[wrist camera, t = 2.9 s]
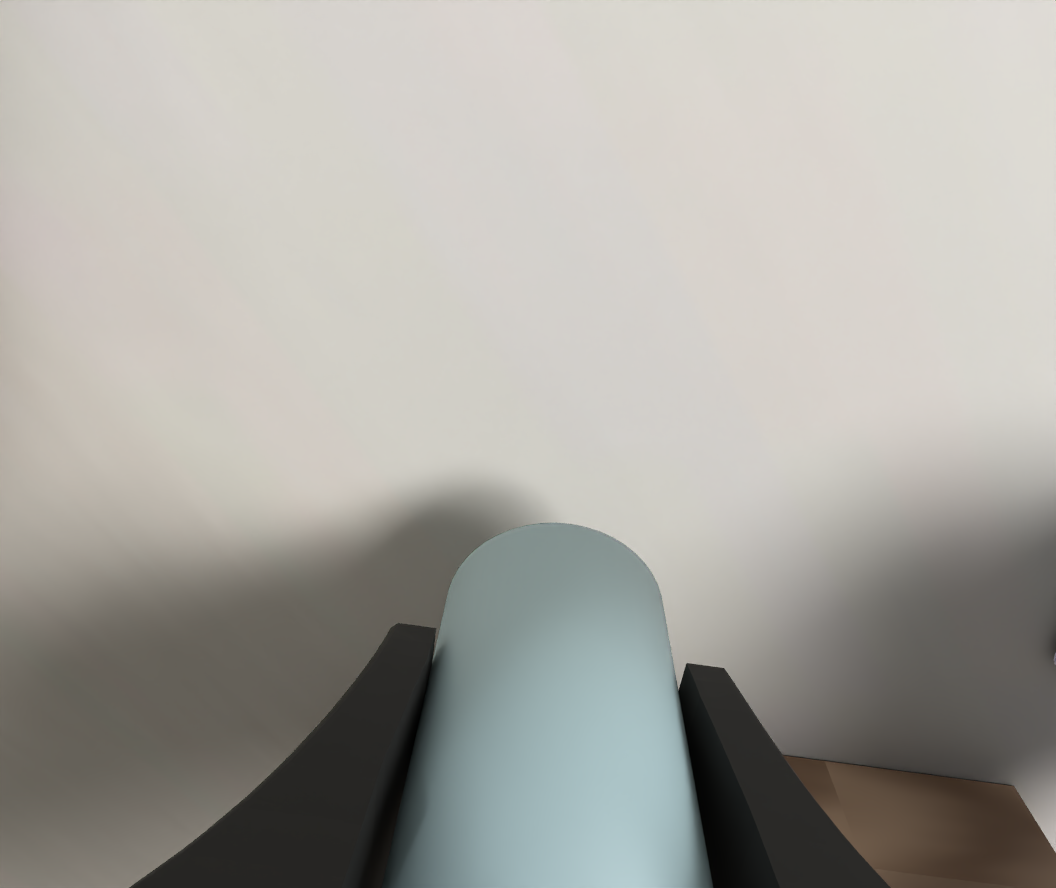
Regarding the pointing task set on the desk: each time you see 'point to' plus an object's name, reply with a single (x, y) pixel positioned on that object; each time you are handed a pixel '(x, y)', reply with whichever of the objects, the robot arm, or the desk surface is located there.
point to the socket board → (932, 827)
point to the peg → (550, 728)
